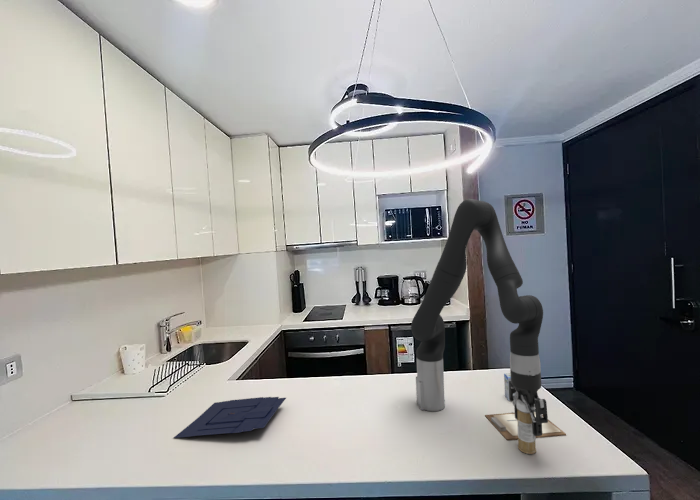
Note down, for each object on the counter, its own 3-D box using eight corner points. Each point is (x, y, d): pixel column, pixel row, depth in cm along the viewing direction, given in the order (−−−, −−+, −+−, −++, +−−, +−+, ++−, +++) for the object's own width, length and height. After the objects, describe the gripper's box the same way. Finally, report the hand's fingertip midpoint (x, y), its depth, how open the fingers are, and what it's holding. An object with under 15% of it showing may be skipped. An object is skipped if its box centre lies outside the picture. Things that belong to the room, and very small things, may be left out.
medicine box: (526, 396, 127) (525, 372, 127) (531, 401, 123) (531, 377, 123) (504, 396, 128) (503, 372, 128) (508, 401, 124) (507, 377, 123)
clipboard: (507, 440, 100) (506, 434, 100) (485, 416, 114) (484, 411, 114) (566, 435, 102) (566, 429, 101) (537, 411, 115) (537, 407, 115)
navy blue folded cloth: (262, 440, 104) (260, 428, 104) (174, 446, 109) (172, 435, 109) (289, 402, 128) (288, 392, 128) (216, 409, 133) (214, 400, 133)
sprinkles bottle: (523, 443, 99) (522, 396, 98) (539, 450, 95) (538, 402, 94) (514, 448, 96) (512, 401, 96) (530, 457, 92) (528, 407, 92)
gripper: (498, 361, 102) (501, 415, 102) (527, 379, 88) (530, 442, 88) (523, 359, 102) (525, 413, 103) (555, 377, 88) (558, 440, 88)
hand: (528, 426), depth 95 cm, fingers open, 8 cm apart
